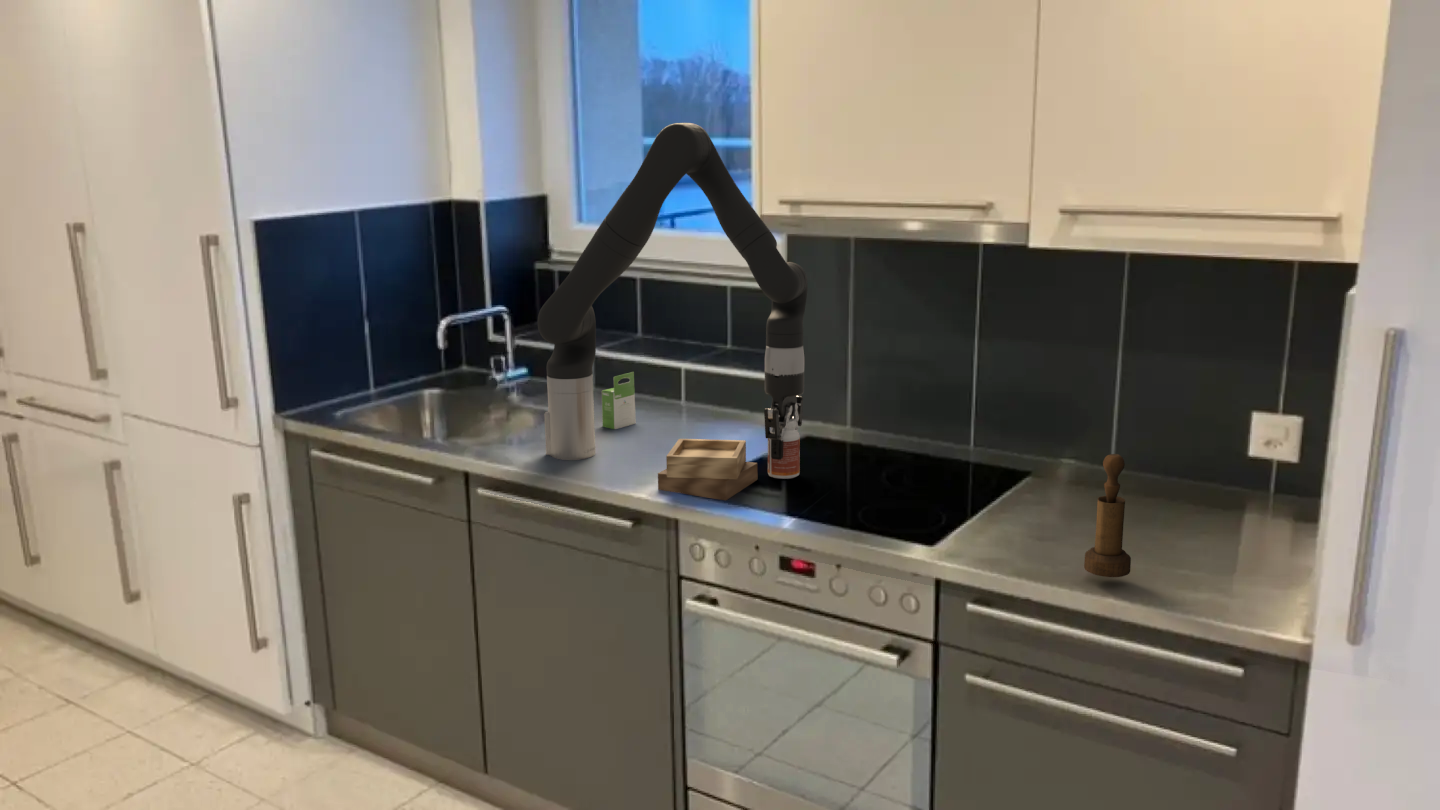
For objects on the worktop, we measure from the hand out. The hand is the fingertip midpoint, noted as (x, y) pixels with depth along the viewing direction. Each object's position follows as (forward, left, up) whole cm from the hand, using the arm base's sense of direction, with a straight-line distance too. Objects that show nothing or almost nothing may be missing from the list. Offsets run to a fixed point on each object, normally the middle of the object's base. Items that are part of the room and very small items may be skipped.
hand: (783, 454), depth 230 cm
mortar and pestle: (+64, -27, -5) cm, 70 cm away
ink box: (-48, +19, -5) cm, 52 cm away
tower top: (-11, -11, -1) cm, 16 cm away
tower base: (-11, -11, -5) cm, 16 cm away
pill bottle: (0, 0, -4) cm, 4 cm away
